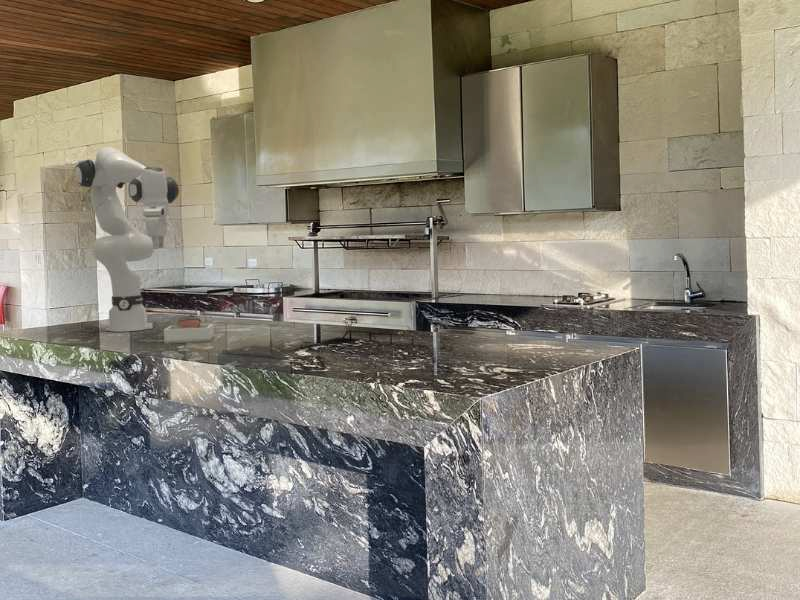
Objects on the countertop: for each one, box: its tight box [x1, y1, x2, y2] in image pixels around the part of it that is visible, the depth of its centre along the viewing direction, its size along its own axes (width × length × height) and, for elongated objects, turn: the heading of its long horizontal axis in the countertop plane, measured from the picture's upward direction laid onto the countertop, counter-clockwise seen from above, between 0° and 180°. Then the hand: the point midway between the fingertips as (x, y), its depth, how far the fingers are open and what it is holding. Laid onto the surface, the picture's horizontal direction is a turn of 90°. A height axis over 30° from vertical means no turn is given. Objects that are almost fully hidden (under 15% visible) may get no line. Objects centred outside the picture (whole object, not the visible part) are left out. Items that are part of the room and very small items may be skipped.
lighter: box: [178, 314, 202, 329], centre depth 314 cm, size 8×3×10 cm
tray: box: [163, 323, 215, 345], centre depth 312 cm, size 12×16×5 cm
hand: (158, 248), depth 317 cm, fingers open, 8 cm apart
